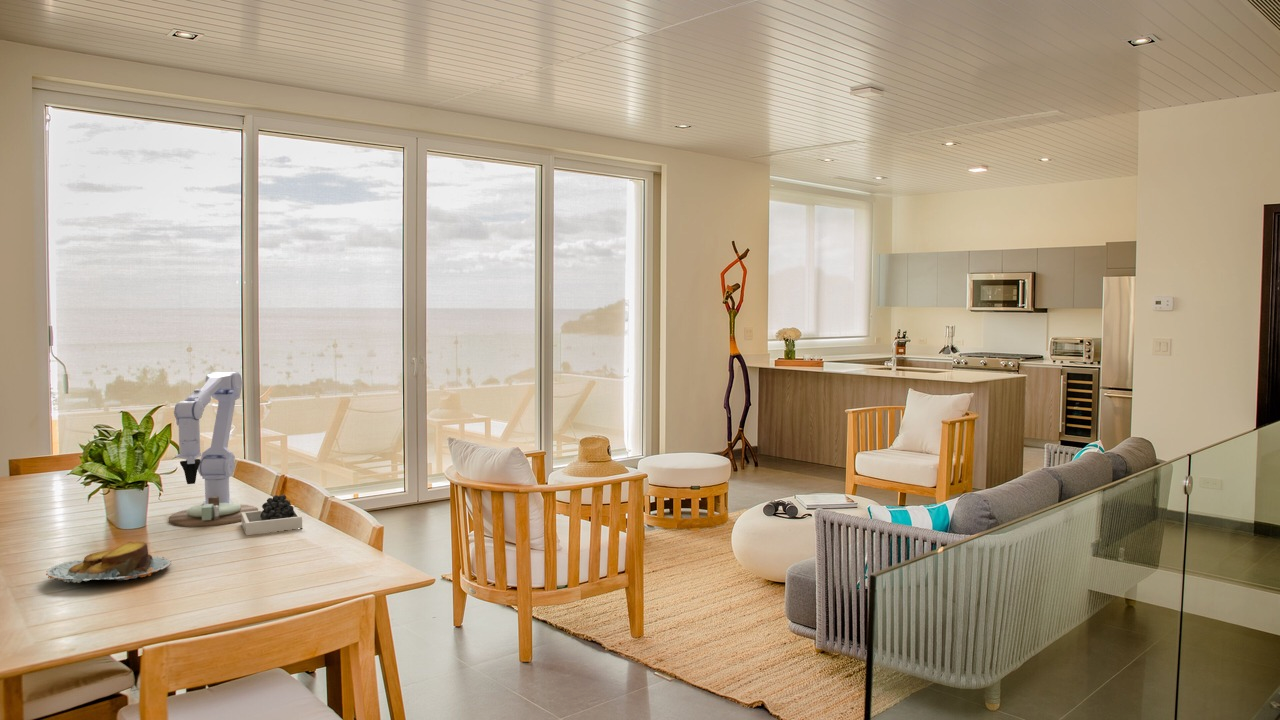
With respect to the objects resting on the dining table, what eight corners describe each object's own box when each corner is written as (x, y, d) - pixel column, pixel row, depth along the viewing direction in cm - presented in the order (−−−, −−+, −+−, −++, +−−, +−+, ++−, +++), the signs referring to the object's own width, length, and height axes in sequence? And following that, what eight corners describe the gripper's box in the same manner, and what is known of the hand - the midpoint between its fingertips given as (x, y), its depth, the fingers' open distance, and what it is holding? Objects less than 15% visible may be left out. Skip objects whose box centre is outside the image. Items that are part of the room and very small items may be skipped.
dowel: (212, 522, 263) (212, 505, 263) (219, 522, 264) (218, 505, 264) (213, 524, 262) (212, 507, 262) (219, 523, 263) (219, 506, 262)
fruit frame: (241, 524, 262) (241, 512, 262) (295, 518, 269) (294, 506, 269) (246, 535, 249) (245, 523, 249) (302, 528, 256) (301, 516, 256)
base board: (167, 513, 276) (167, 494, 276) (254, 504, 288) (253, 486, 288) (169, 530, 254) (168, 510, 254) (262, 520, 267) (261, 500, 266)
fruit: (269, 501, 251) (290, 488, 266) (242, 510, 252) (265, 497, 267) (280, 528, 252) (301, 515, 267) (254, 538, 252) (276, 523, 267)
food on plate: (42, 573, 215) (41, 546, 214) (159, 555, 230) (159, 530, 230) (52, 600, 194) (51, 571, 194) (180, 579, 210) (179, 551, 210)
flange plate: (192, 507, 276) (192, 495, 276) (244, 504, 281) (244, 492, 280) (178, 522, 258) (177, 509, 258) (233, 518, 262) (233, 505, 262)
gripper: (174, 437, 274) (175, 480, 275) (175, 444, 261) (176, 489, 262) (199, 436, 278) (200, 478, 278) (201, 442, 265) (203, 486, 266)
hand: (191, 483), depth 271 cm, fingers closed
